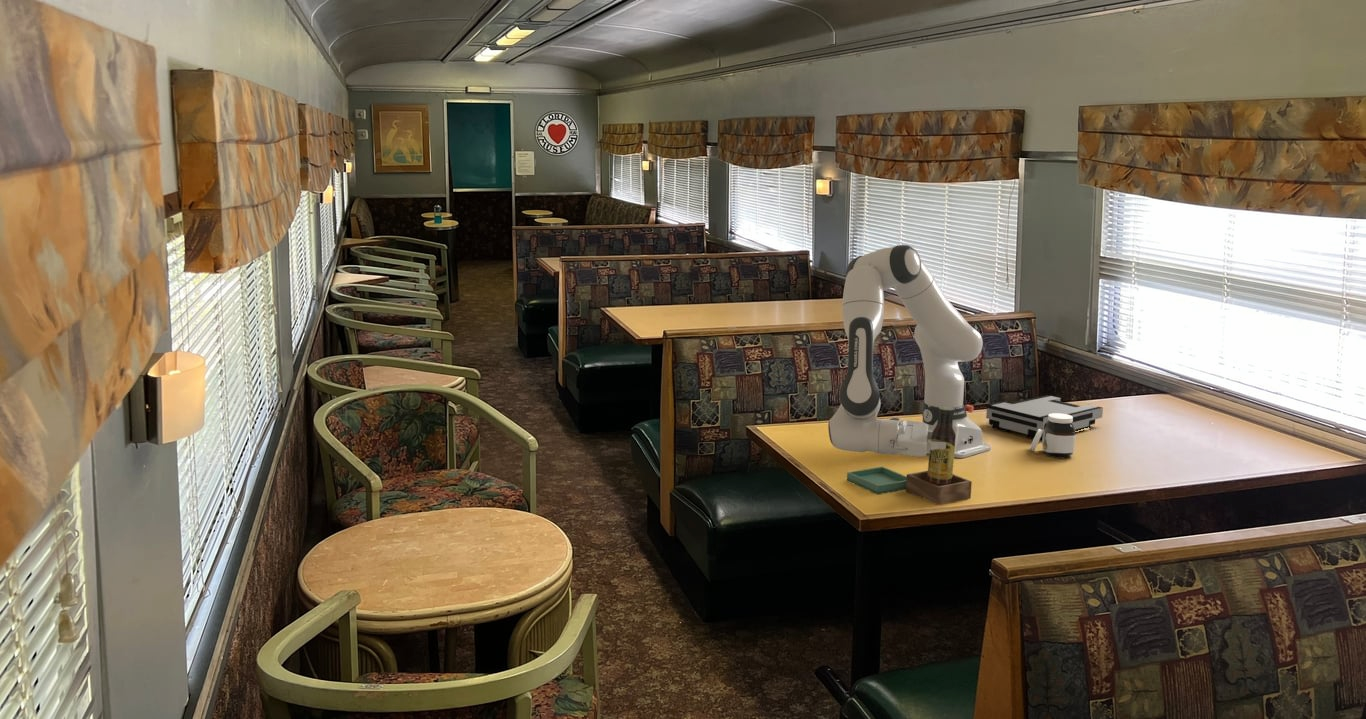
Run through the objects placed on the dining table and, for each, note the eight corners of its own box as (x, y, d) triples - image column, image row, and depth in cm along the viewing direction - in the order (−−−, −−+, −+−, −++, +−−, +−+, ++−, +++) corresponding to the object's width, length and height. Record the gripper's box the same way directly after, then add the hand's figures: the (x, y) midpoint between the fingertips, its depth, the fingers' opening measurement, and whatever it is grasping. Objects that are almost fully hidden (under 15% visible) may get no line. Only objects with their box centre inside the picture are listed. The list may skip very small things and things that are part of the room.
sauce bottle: (923, 482, 276) (927, 407, 272) (933, 477, 281) (937, 403, 277) (946, 487, 272) (951, 411, 269) (957, 481, 277) (961, 407, 273)
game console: (1101, 428, 346) (1103, 403, 344) (1041, 444, 327) (1043, 417, 325) (1045, 415, 362) (1047, 391, 360) (985, 429, 343) (987, 404, 342)
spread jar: (1077, 459, 311) (1080, 420, 308) (1039, 459, 310) (1042, 420, 307) (1060, 447, 322) (1063, 410, 320) (1023, 447, 321) (1026, 410, 319)
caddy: (938, 484, 285) (939, 468, 284) (970, 498, 275) (971, 481, 274) (905, 490, 280) (906, 474, 279) (937, 504, 269) (938, 487, 269)
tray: (882, 474, 293) (882, 466, 293) (913, 487, 282) (914, 479, 282) (846, 480, 288) (847, 472, 287) (877, 494, 277) (878, 486, 276)
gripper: (889, 436, 267) (946, 440, 264) (893, 415, 286) (946, 419, 283) (888, 460, 268) (945, 464, 265) (892, 438, 288) (945, 442, 285)
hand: (946, 441), depth 274 cm, fingers closed on sauce bottle, 6 cm apart
